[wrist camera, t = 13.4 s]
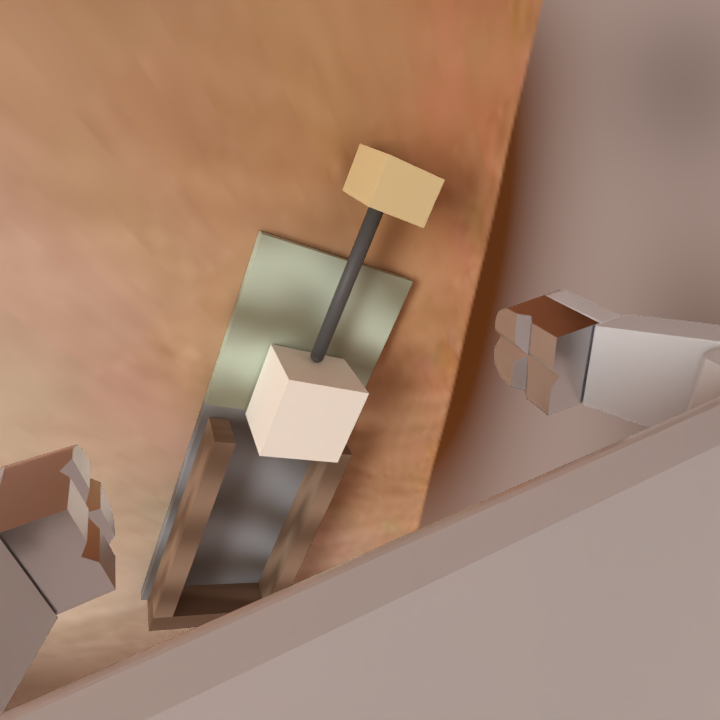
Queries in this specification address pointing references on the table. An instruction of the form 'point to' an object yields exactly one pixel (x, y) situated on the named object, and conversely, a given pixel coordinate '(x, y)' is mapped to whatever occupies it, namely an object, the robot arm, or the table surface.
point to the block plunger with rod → (315, 369)
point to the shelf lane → (237, 446)
